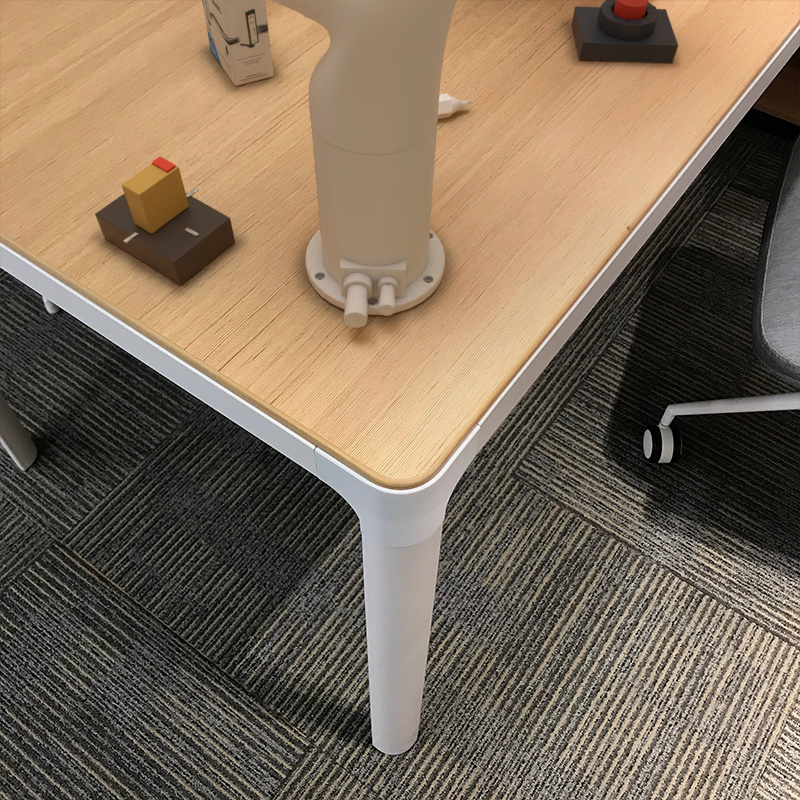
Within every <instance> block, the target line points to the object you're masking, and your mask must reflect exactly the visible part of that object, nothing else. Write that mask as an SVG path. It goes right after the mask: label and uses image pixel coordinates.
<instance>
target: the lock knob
mask: <svg viewBox="0 0 800 800" xmlns="http://www.w3.org/2000/svg"><path fill="white" fill-rule="evenodd" d="M121 188H122V190H123V194H125V197H126V199H127V202H128V205H129V208H130V211H131V214H132V217H133V220H134V223H135V224H136V225H138V226H139V227H141V228H143V229H144V230H146V231H148V232H149V233H151V234H152V233H154V232H155V231H157V230H158V229H159V228H161V227H162V226H163V225H165V224H166V223H167V222H169V221H170V220H171V219H173V218H174V217H175V216H177V215H178V214H179V213H181V212H182V211H183V210H185V209H186V208H188V207H189V204H188V200H187V196H186V193H187V192H186V190H185V189H186V188H185V185H184V181H183V177H182V174H181V170H180V167H179V166H178V165H176V164H175V163H173V162H171V161H169V160H167V159H166V158H164V157H162V156H158V157H156V158H155V159H154V160H152V161H151V163H150V164H149V165H148V166H146V167H144V168H143V169H141V170H140V171H139V172H137V173H136V174H134V175H132V176H131V177H130V178H128V179H127V180H126V181H124V182H123V183H122V184H121Z"/></svg>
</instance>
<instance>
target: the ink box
mask: <svg viewBox="0 0 800 800" xmlns="http://www.w3.org/2000/svg"><path fill="white" fill-rule="evenodd" d="M201 2H202V8H203V13H204V19H205V26H206V31H207V38H208V43H209V49H210V51H211V53H212V54H213V56H214V57H215V59H216V60H217V62H218V63H219V64H220V66H221V68H222V69H223V70H224V72H225V74H226V75H227V77H228V78H229V80H230V81H231V82H232V84H233V85H234V86H235V87H238V86H242V85H245V84H248V83H254V82H258V81H260V80H261V81H262V80H265V79H268V78H273V77H274V67H273V58H272V57H273V56H272V49H271V39H270V31H269V23H268V14H267V12H268V11H267V4H266V0H201Z"/></svg>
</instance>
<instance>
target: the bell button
mask: <svg viewBox="0 0 800 800" xmlns="http://www.w3.org/2000/svg"><path fill="white" fill-rule="evenodd" d="M648 2H650V1H649V0H616V2H615V6H614V10H613V13H614V14H615V15H616V16H618V17H620V18H623V19H627V20H639V19H642V18H644V15H645V12H646V8H647V5H648Z"/></svg>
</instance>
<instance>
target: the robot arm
mask: <svg viewBox="0 0 800 800" xmlns="http://www.w3.org/2000/svg"><path fill="white" fill-rule="evenodd" d="M271 1H272V2H273V3H276V4H278V5H281V6H283V7H285V8H287V9H289V10H292V11H294V12H296V13H299V14H300V15H302V16H303V17H305V18H307V19H309V20H312V21H314V22H316V23H318V24H319V25H320V26H322V27H323V28H324V29H325V30H326V31H327V33H328V36H329V39H330V40H329V47H328V49H327V50H326V51H325V53H324V54H323V55H322V57H321V58H320V59H319V60H318V62H317V63H316V65H315V66H314V68H313V70H312V73H311V75H310V80H309V83H308V109H309V120H310V126H311V138H312V150H313V162H314V172H315V184H316V185H315V186H316V195H317V208H318V218H319V219H318V220H319V228H318V229H317V230H316V232H314V234H313V236H312V237H311V238H310V239H309V242H308V244H307V247H306V249H305V256H304V257H305V258H304V261H305V270H306V274H307V278H308V280H309V282H310V284H311V285H312V287H313V289H314V290H315V292H317V293H318V294H319V295H320V297H321V298H323V299H324V300H326V301H327V302H328V303H330V304H331V305H334V306H336V307H337V308H339V309H342V310H344V311H343V312H344V313H343V322H344V324H345V325H346V326H347V327H350V328H352V329H353V328H354V329H360V328H363V327H365V326H366V325H367V322H368V318H369V317H368V316H378V315H379V316H381V315H382V316H384V317H385V316H386V317H388V316H392V315H394V314H396V313H400V312H403V311H406V310H410V309H412V308H413V307H415V306H418V305H420V304H421V303H423V302H424V301H425V300H427V299H428V298H430V297H431V296H432V294H433V293H434V292H435V291H436V290H437V289H438V287H439V286H440V283H441V282H442V281H443V277H444V273H445V268H446V253H445V248H444V246H443V244H442V241H441V239H440V238H439V236H438V235H437V234H436V233H435V231H434V230H433V229H432V228H431V220H432V208H433V206H432V205H433V191H434V179H435V163H436V149H437V135H438V120H439V119H438V105H439V95H440V90H441V82H442V81H441V80H442V71H443V63H444V56H445V50H446V45H447V40H448V34H449V30H450V27H451V21H452V17H453V15H454V11H455V7H456V3H457V0H271Z"/></svg>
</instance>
